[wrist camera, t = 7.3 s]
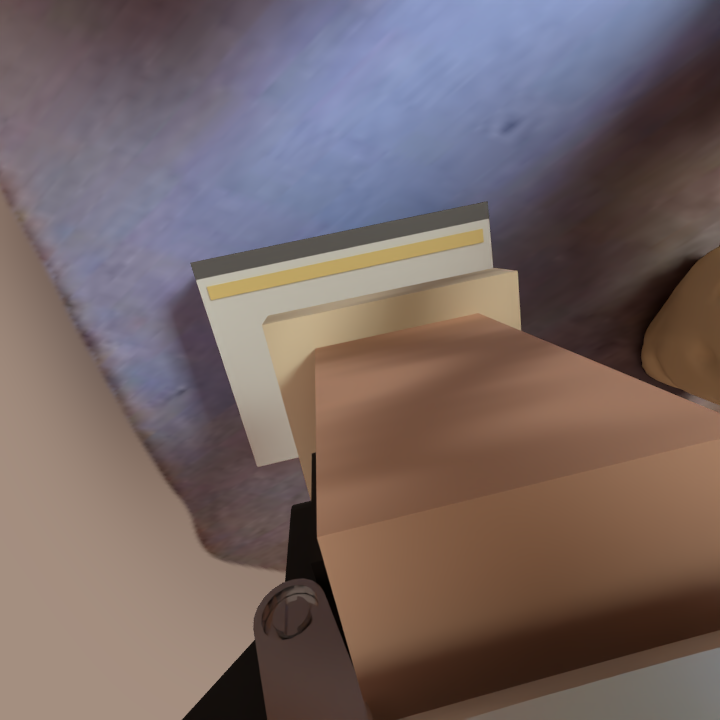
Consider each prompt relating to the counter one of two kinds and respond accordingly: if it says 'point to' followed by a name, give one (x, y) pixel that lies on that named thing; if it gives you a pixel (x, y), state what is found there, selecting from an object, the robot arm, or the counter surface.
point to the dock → (322, 296)
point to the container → (688, 333)
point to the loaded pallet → (492, 493)
